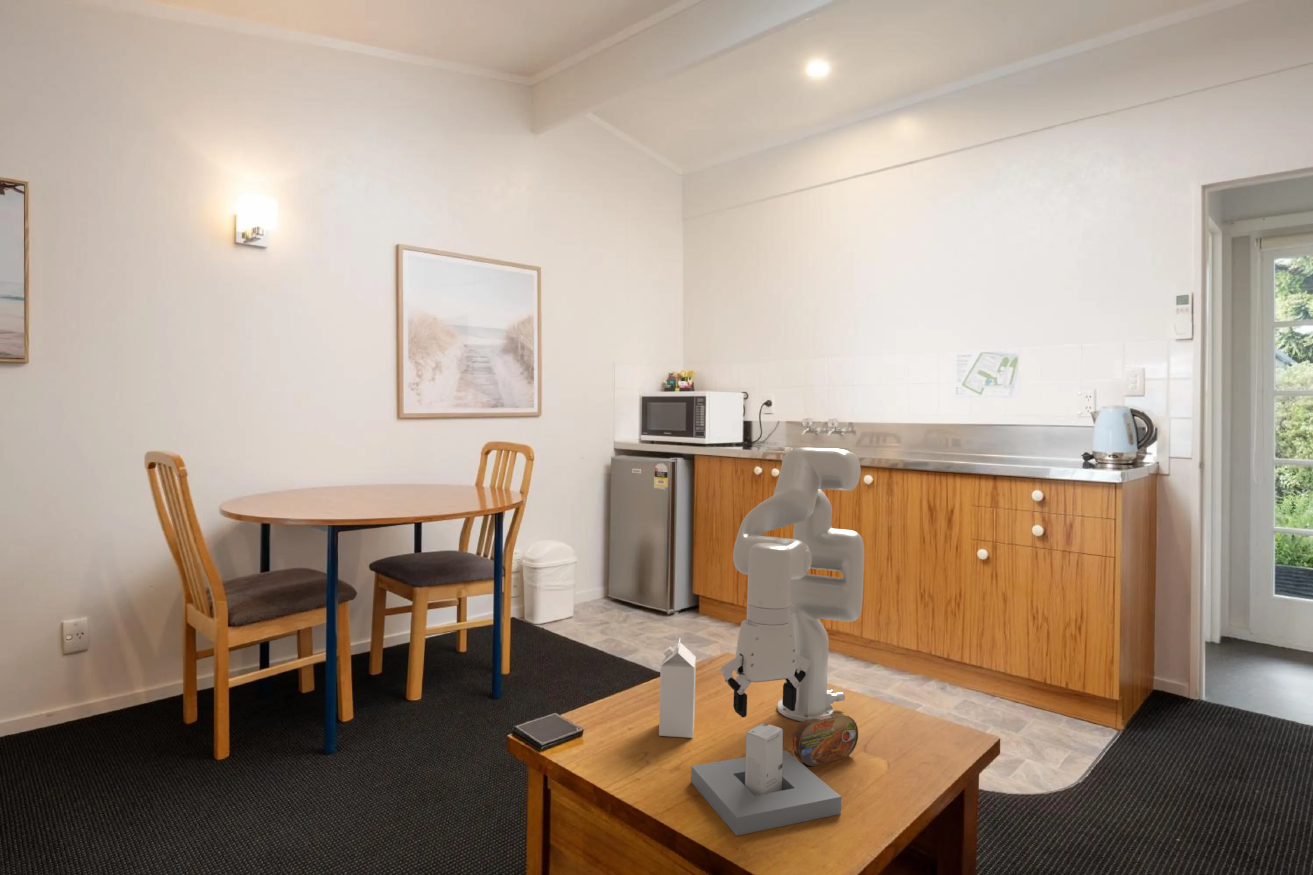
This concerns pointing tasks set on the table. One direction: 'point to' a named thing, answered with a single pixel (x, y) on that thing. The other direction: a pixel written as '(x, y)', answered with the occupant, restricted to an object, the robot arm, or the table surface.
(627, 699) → the table surface
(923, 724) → the table surface
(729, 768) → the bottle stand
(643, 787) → the table surface
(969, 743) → the table surface
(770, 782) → the skincare box
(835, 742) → the tin
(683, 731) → the milk carton
